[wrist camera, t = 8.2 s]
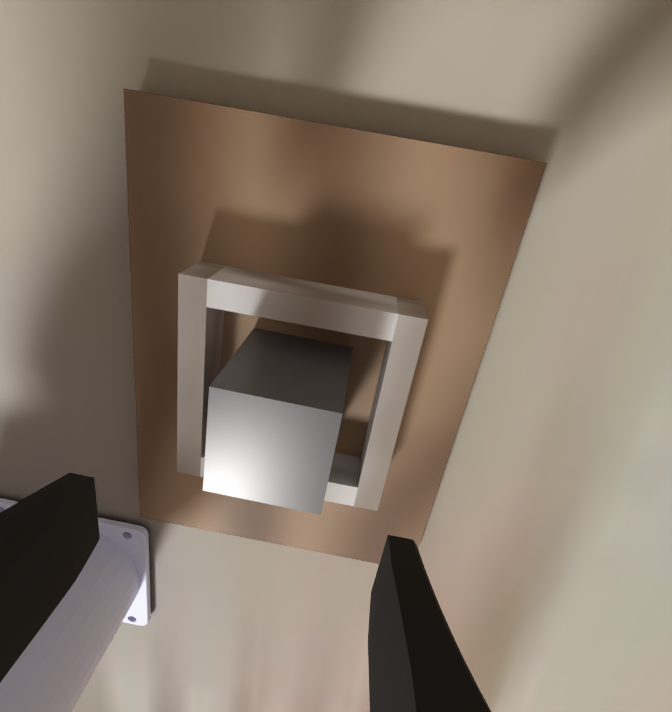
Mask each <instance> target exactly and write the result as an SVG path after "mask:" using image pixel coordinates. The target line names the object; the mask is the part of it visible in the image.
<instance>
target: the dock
mask: <svg viewBox="0 0 672 712" xmlns="http://www.w3.org/2000/svg"><path fill="white" fill-rule="evenodd" d="M124 109H125V135H126V160H127V186H128V211H129V237H130V262H131V288H132V314H133V339H134V365H135V390H136V416H137V441H138V467H139V493H140V517H143V518H148V519H153V520H158V521H163V522H168V523H173V524H178V525H183V526H189V527H194V528H199V529H204V530H209V531H214V532H219V533H224V534H229V535H234V536H240V537H245V538H250V539H255V540H260V541H265V542H270V543H275V544H280V545H285V546H291V547H296V548H301V549H306V550H311V551H316V552H321V553H326V554H331V555H336V556H342V557H347V558H352V559H357V560H362V561H367V562H372V563H377V564H380V560H381V557H382V553H383V550H384V546H385V543H386V539H387V536H388V535H392V536H397V537H403V538H408V539H413V540H414V541H415V543H416V544H417V547H419V544H420V541H421V538H422V535H423V532H424V529H425V526H426V523H427V520H428V517H429V514H430V511H431V508H432V505H433V502H434V499H435V496H436V493H437V490H438V487H439V484H440V481H441V478H442V475H443V472H444V469H445V466H446V463H447V460H448V457H449V454H450V451H451V448H452V445H453V442H454V439H455V436H456V433H457V430H458V427H459V424H460V421H461V418H462V415H463V412H464V409H465V406H466V403H467V400H468V397H469V394H470V391H471V388H472V385H473V382H474V379H475V376H476V373H477V370H478V367H479V364H480V361H481V358H482V355H483V352H484V349H485V346H486V343H487V341H488V338H489V335H490V332H491V329H492V326H493V323H494V320H495V317H496V314H497V311H498V308H499V305H500V302H501V299H502V296H503V293H504V290H505V287H506V284H507V281H508V278H509V275H510V272H511V269H512V266H513V263H514V260H515V257H516V254H517V251H518V248H519V245H520V242H521V239H522V236H523V233H524V230H525V227H526V224H527V221H528V218H529V215H530V212H531V209H532V206H533V203H534V200H535V197H536V194H537V191H538V188H539V185H540V182H541V179H542V176H543V173H544V170H545V167H546V164H547V163H544V162H538V161H533V160H527V159H521V158H516V157H510V156H504V155H499V154H493V153H487V152H481V151H476V150H470V149H464V148H459V147H453V146H447V145H442V144H436V143H430V142H425V141H419V140H413V139H407V138H402V137H396V136H390V135H385V134H379V133H373V132H368V131H362V130H356V129H351V128H345V127H339V126H333V125H328V124H322V123H316V122H311V121H305V120H299V119H294V118H288V117H282V116H277V115H271V114H265V113H259V112H254V111H248V110H242V109H237V108H231V107H225V106H220V105H214V104H208V103H203V102H197V101H191V100H186V99H180V98H174V97H168V96H163V95H157V94H151V93H146V92H140V91H134V90H129V89H124ZM254 328H259V329H264V330H269V331H274V332H279V333H284V334H289V335H294V336H299V337H304V338H309V339H314V340H319V341H324V342H329V343H334V344H338V345H343V346H348V347H353V350H352V356H351V363H350V369H349V376H348V382H347V389H346V395H345V402H344V408H343V415H342V419H341V424H340V429H339V433H338V438H337V442H336V447H335V452H334V456H333V461H332V466H331V470H330V475H329V479H328V484H327V489H326V493H325V498H324V503H323V507H322V512H321V515H319V514H314V513H309V512H304V511H300V510H295V509H290V508H285V507H280V506H275V505H271V504H266V503H261V502H256V501H251V500H246V499H242V498H237V497H232V496H227V495H222V494H217V493H213V492H208V491H203V480H204V463H205V447H206V431H207V414H208V398H209V386H210V385H211V384H212V382H213V381H214V380H215V378H216V377H217V376H218V374H219V373H220V372H221V370H222V369H223V368H224V367H225V365H226V364H227V363H228V361H229V360H230V359H231V357H232V356H233V355H234V353H235V352H236V351H237V350H238V348H239V347H240V346H241V344H242V343H243V342H244V340H245V339H246V338H247V337H248V335H249V334H250V333H251V331H252V330H253V329H254Z"/></svg>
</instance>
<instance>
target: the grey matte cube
mask: <svg viewBox="0 0 672 712" xmlns="http://www.w3.org/2000/svg"><path fill="white" fill-rule="evenodd" d="M352 350H353V347H348V346H343V345H338V344H334V343H329V342H324V341H319V340H314V339H309V338H304V337H299V336H294V335H289V334H284V333H279V332H274V331H269V330H264V329H259V328H254V329H253V330H252V331H251V333H250V334H249V335H248V337H247V338H246V339H245V340H244V342H243V343H242V344H241V346H240V347H239V348H238V350H237V351H236V352H235V353H234V355H233V356H232V357H231V359H230V360H229V361H228V363H227V364H226V365H225V367H224V368H223V369H222V370H221V372H220V373H219V374H218V376H217V377H216V378H215V380H214V381H213V382H212V384H211V385H210V386H209V398H208V414H207V431H206V447H205V463H204V480H203V491H208V492H213V493H217V494H222V495H227V496H232V497H237V498H242V499H246V500H251V501H256V502H261V503H266V504H271V505H275V506H280V507H285V508H290V509H295V510H300V511H304V512H309V513H314V514H319V515H321V512H322V507H323V503H324V498H325V493H326V489H327V484H328V479H329V475H330V470H331V466H332V461H333V456H334V452H335V447H336V442H337V438H338V433H339V429H340V424H341V419H342V415H343V408H344V402H345V395H346V389H347V382H348V376H349V369H350V363H351V356H352Z"/></svg>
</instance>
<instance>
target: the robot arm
mask: <svg viewBox="0 0 672 712" xmlns="http://www.w3.org/2000/svg"><path fill="white" fill-rule="evenodd" d="M150 618H151V604H150V570H149V536H148V531H147V530H146V528H144V527H143V526H140V525H135V524H130V523H124V522H119V521H114V520H109V519H104V518H99V517H98V515H97V504H96V493H95V483H94V478H93V477H88V476H83V475H78V474H73V473H69V474H67V475H65V476H63V477H61V478H59V479H58V480H56V481H54V482H52V483H51V484H49V485H47V486H45V487H44V488H42V489H40V490H38V491H37V492H35V493H33V494H32V495H30V496H28V497H26V498H25V499H23V500H21V501H19V502H18V501H12V500H7V499H2V498H0V712H72V710H73V708H74V706H75V704H76V703H77V701H78V699H79V697H80V696H81V694H82V692H83V690H84V688H85V687H86V685H87V683H88V681H89V680H90V678H91V676H92V674H93V672H94V671H95V669H96V667H97V665H98V664H99V662H100V660H101V658H102V656H103V655H104V653H105V651H106V649H107V648H108V646H109V644H110V642H111V641H112V639H113V637H114V635H115V633H116V632H117V630H118V628H119V626H120V625H121V623H122V622H126V623H131V624H136V625H141V626H143V625H147V624H148V622H149V620H150ZM368 656H369V691H370V712H491V710H490V709H489V707H488V705H487V703H486V701H485V699H484V697H483V696H482V694H481V692H480V690H479V688H478V686H477V684H476V682H475V680H474V678H473V676H472V674H471V672H470V670H469V668H468V666H467V664H466V662H465V660H464V658H463V656H462V654H461V652H460V650H459V648H458V646H457V644H456V642H455V639H454V637H453V635H452V633H451V631H450V628H449V626H448V624H447V622H446V619H445V617H444V615H443V613H442V610H441V608H440V606H439V603H438V601H437V599H436V596H435V594H434V591H433V589H432V586H431V584H430V581H429V578H428V576H427V573H426V570H425V568H424V565H423V562H422V559H421V556H420V554H419V551H418V547H417V544H416V543H415V541H414V540H413V539H408V538H403V537H397V536H392V535H388V536H387V539H386V543H385V546H384V550H383V553H382V557H381V560H380V564H379V567H378V571H377V574H376V578H375V581H374V585H373V588H372V591H371V603H370V617H369V633H368Z"/></svg>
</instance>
